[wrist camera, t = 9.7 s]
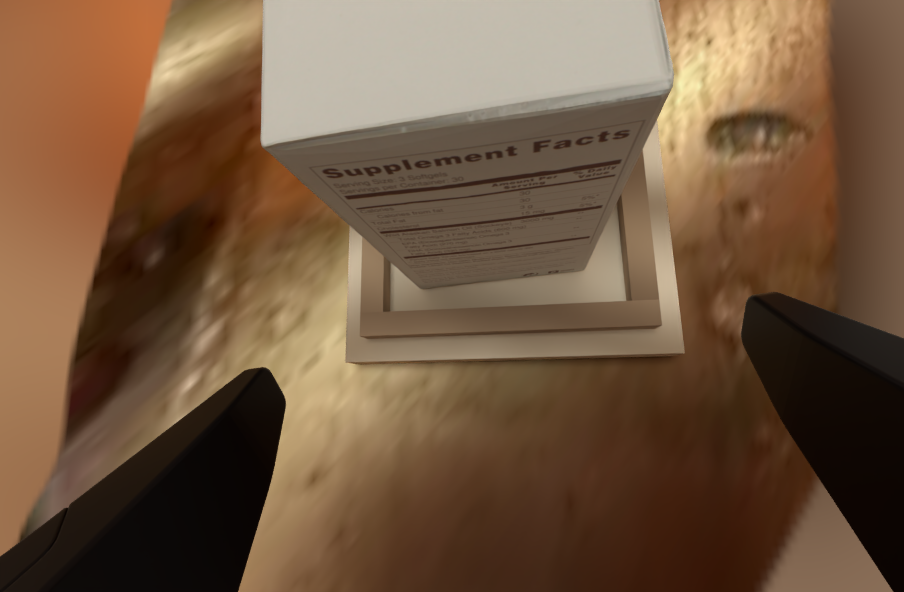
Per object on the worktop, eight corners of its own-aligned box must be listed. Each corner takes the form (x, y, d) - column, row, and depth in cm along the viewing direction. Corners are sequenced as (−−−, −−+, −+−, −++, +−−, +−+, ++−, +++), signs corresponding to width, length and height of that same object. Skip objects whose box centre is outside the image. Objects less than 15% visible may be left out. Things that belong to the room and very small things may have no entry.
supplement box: (408, 143, 22) (256, -172, 10) (567, 119, 21) (624, -270, 8) (416, 294, 20) (243, 148, 8) (588, 277, 19) (693, 78, 7)
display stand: (673, 355, 19) (693, 350, 17) (357, 364, 22) (336, 360, 19) (640, 66, 22) (653, 27, 20) (364, 99, 24) (346, 67, 22)
